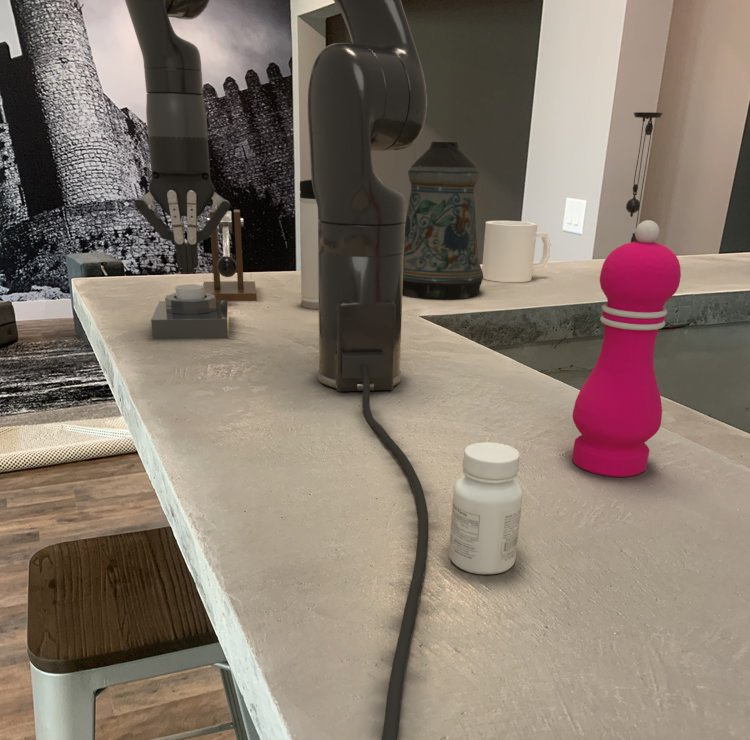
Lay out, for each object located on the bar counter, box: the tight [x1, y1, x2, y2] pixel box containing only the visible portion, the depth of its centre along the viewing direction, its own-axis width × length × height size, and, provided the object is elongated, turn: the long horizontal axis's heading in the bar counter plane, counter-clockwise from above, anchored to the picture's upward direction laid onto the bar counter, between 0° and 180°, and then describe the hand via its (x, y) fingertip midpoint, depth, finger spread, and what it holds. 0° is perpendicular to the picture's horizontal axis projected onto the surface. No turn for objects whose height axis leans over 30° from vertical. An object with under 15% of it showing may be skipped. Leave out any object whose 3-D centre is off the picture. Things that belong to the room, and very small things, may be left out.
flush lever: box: [217, 210, 237, 278], centre depth 125 cm, size 14×3×3 cm
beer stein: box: [402, 141, 483, 300], centre depth 137 cm, size 16×19×25 cm
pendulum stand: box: [202, 208, 258, 302], centre depth 131 cm, size 12×9×14 cm
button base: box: [150, 292, 230, 340], centre depth 109 cm, size 13×10×4 cm
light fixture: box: [625, 111, 663, 242], centre depth 163 cm, size 10×8×31 cm
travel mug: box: [299, 179, 319, 310], centre depth 122 cm, size 6×7×20 cm
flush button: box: [174, 283, 205, 300], centre depth 107 cm, size 4×4×2 cm
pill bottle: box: [448, 441, 524, 575], centre depth 49 cm, size 4×4×8 cm
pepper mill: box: [571, 219, 682, 478], centre depth 62 cm, size 7×7×20 cm
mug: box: [481, 220, 552, 283], centre depth 155 cm, size 14×10×11 cm
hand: (188, 271), depth 106 cm, fingers closed
